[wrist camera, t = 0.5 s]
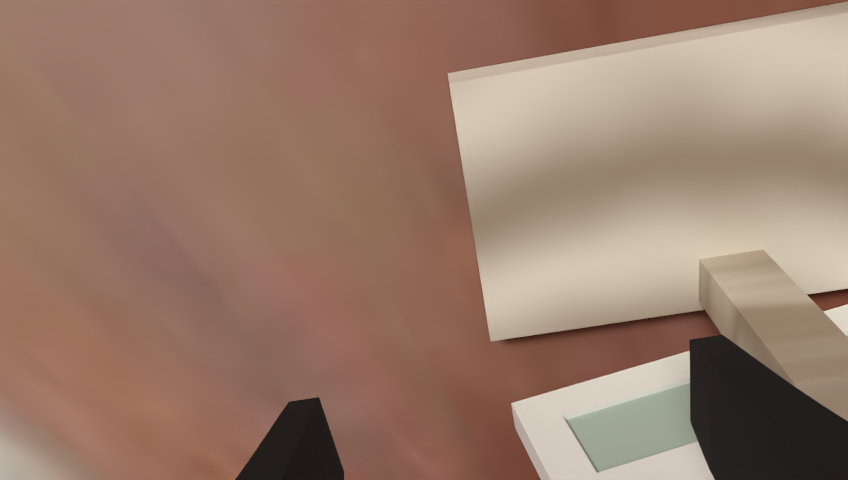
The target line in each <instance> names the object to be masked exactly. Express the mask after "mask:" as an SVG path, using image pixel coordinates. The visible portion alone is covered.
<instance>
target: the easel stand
mask: <svg viewBox="0 0 848 480" xmlns="http://www.w3.org/2000/svg"><path fill="white" fill-rule="evenodd" d="M448 80H449V86H450V92H451V98H452V105H453V111H454V117H455V123H456V129H457V136H458V142H459V148H460V154H461V160H462V167H463V173H464V179H465V185H466V191H467V198H468V204H469V210H470V216H471V222H472V229H473V235H474V241H475V247H476V253H477V260H478V266H479V272H480V278H481V284H482V291H483V297H484V303H485V309H486V315H487V322H488V328H489V334H490V340H491V341H497V340H504V339H510V338H517V337H524V336H531V335H537V334H544V333H551V332H558V331H564V330H571V329H578V328H585V327H591V326H598V325H605V324H611V323H618V322H625V321H632V320H638V319H645V318H652V317H659V316H665V315H672V314H679V313H686V312H692V311H699V310H705V311H706V312H707V314H708V315H709V317H710V318H711V319H712V321H713V322H714V324H715V325H716V327H717V328H718V330H719V331H720V333H721V334H722V335H724V336H725V337H727V338H728V339H729V340H731V341H732V342H733V343H735V344H736V345H738V346H739V347H740V348H742V349H743V350H744V351H746V352H747V353H749V354H750V355H751V356H753V357H754V358H755V359H757V360H758V361H760V362H761V363H762V364H764V365H765V366H766V367H768V368H769V369H771V370H772V371H773V372H775V373H776V374H778V375H779V376H780V377H782V378H783V379H785V380H786V381H787V382H789V383H790V384H792V385H793V386H795V387H796V388H798V389H799V390H801V391H802V392H803V393H805V394H806V395H808V396H809V397H811V398H812V399H814V400H815V401H817V402H818V403H820V404H821V405H823V406H825V407H826V408H828V409H829V410H831V411H832V412H834V413H835V414H837V415H839V416H840V417H842V418H844V419H845V420H847V421H848V337H847V336H846V335H845V334H844V333H843V332H842V331H841V330H840V329H839V328H838V326H837V325H836V324H835V323H834V322H833V321H832V320H831V319H830V318H829V317H828V316H827V315H826V314H825V313H824V312H823V311H822V310H821V309H820V308H819V307H818V306H817V305H816V304H815V303H814V302H813V301H812V300H811V299H810V297H809V296H808V295H807V294H814V293H820V292H827V291H834V290H841V289H847V288H848V2H843V3H837V4H831V5H826V6H820V7H815V8H809V9H804V10H798V11H792V12H787V13H781V14H776V15H770V16H765V17H759V18H754V19H748V20H742V21H737V22H731V23H726V24H720V25H715V26H709V27H703V28H698V29H692V30H687V31H681V32H676V33H670V34H664V35H659V36H653V37H648V38H642V39H637V40H631V41H625V42H620V43H614V44H609V45H603V46H598V47H592V48H586V49H581V50H575V51H570V52H564V53H559V54H553V55H547V56H542V57H536V58H531V59H525V60H520V61H514V62H509V63H503V64H497V65H492V66H486V67H481V68H475V69H470V70H464V71H458V72H453V73H448Z"/></svg>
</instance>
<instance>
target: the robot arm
mask: <svg viewBox="0 0 848 480" xmlns="http://www.w3.org/2000/svg"><path fill="white" fill-rule="evenodd" d="M690 422H691V425H692V427H693V430H694V433H695V435H696V438H697V440H698V443H699V445H700V448H701V450H702V453H703V455H704V458H705V460H706V462H707V465H708V467H709V470H710V472H711V474H712V475H713V477H714V479H715V480H848V421H847V420H845V419H844V418H842V417H840V416H839V415H837V414H835V413H834V412H832V411H831V410H829V409H828V408H826V407H825V406H823V405H821V404H820V403H818V402H817V401H815V400H814V399H812V398H811V397H809V396H808V395H806V394H805V393H803V392H802V391H801V390H799V389H798V388H796V387H795V386H793V385H792V384H790V383H789V382H787V381H786V380H785V379H783V378H782V377H780V376H779V375H778V374H776V373H775V372H773V371H772V370H771V369H769V368H768V367H766V366H765V365H764V364H762V363H761V362H760V361H758V360H757V359H755V358H754V357H753V356H751V355H750V354H749V353H747V352H746V351H744V350H743V349H742V348H740V347H739V346H738V345H736V344H735V343H733V342H732V341H731V340H729V339H728V338H727V337H725V336H724V335H718V336H712V337H705V338H699V339H692V340H690ZM235 480H344V471H343V468H342V465H341V462H340V459H339V456H338V453H337V450H336V447H335V444H334V441H333V438H332V435H331V432H330V429H329V426H328V423H327V420H326V417H325V414H324V411H323V408H322V405H321V402H320V399H319V397H318V398H311V399H305V400H298V401H292V402H289V403H288V404H287V405H286V407H285V408H284V410H283V411H282V412H281V414H280V415H279V417H278V418H277V420H276V421H275V423H274V424H273V426H272V427H271V429H270V430H269V432H268V433H267V435H266V436H265V438H264V439H263V441H262V442H261V444H260V445H259V447H258V448H257V450H256V451H255V452H254V454H253V455H252V457H251V458H250V460H249V461H248V463H247V464H246V465H245V467H244V468H243V470H242V471H241V472H240V474H239V475H238V477H237V478H236V479H235Z"/></svg>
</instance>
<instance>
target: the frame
mask: <svg viewBox="0 0 848 480" xmlns="http://www.w3.org/2000/svg"><path fill="white" fill-rule="evenodd" d="M823 312H824V313H825V314H826V315H827V316H828V317H829V318H830V319H831V320H832V321H833V322H834V323H835V324H836V325H837V326H838V328H839V329H840V330H841V331H842V332H843V333H844V334H845V335H846V336H847V337H848V304H847V305H844V306H840V307H837V308H834V309H830V310H827V311H823ZM511 405H512V411H513V418H514V424H515V429H516V431H517V433H518V435H519V437H520V439H521V441H522V443H523V445H524V447H525V449H526V451H527V453H528V455H529V457H530V459H531V461H532V463H533V465H534V467H535V469H536V471H537V473H538V475H539V477H540V479H541V480H715V479H714V477H713V475H712V474H711V472H710V470H709V467H708V465H707V462H706V460H705V458H704V455H703V453H702V450H701V448H700V445H699V443H698V440H697V438H696V435H695V433H694V430H693V427H692V425H691V422H690V351H687V352H684V353H681V354H677V355H674V356H670V357H667V358H664V359H660V360H657V361H653V362H650V363H647V364H643V365H640V366H636V367H633V368H630V369H626V370H623V371H619V372H616V373H613V374H609V375H606V376H602V377H599V378H596V379H592V380H589V381H585V382H582V383H579V384H575V385H572V386H568V387H565V388H562V389H558V390H555V391H551V392H548V393H544V394H541V395H538V396H534V397H531V398H527V399H524V400H521V401H517V402H514V403H511Z"/></svg>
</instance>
